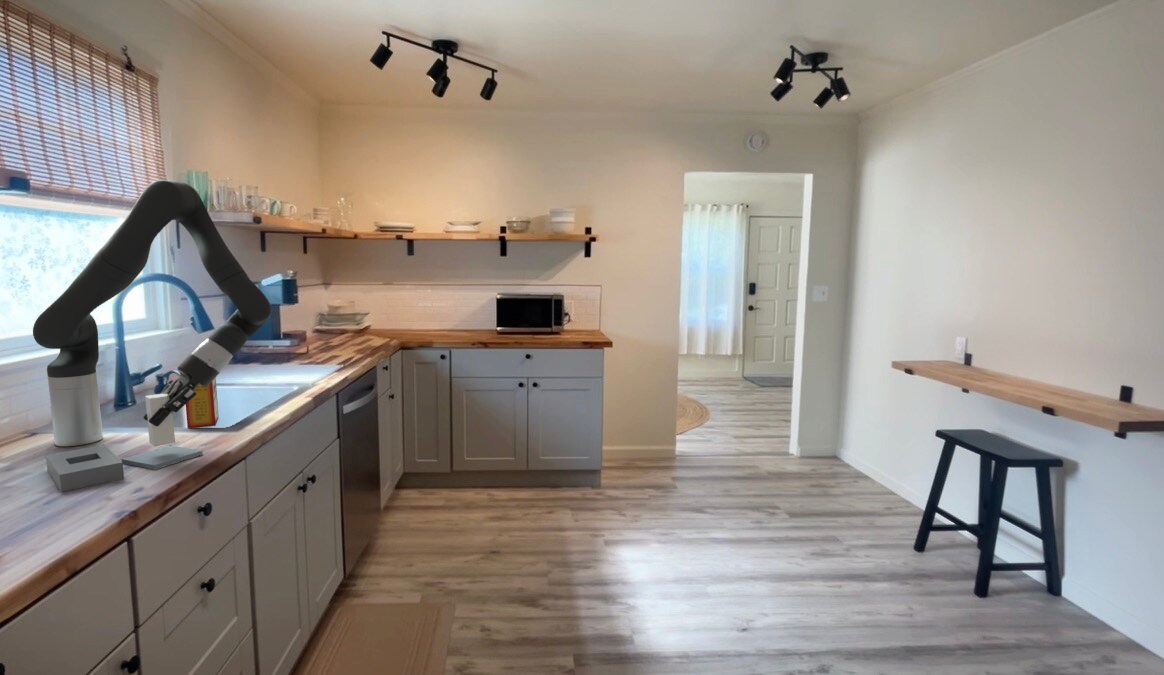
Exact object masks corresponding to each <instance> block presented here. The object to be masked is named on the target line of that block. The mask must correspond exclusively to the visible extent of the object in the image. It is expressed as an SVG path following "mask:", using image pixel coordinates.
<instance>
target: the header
mask: <svg viewBox="0 0 1164 675" xmlns="http://www.w3.org/2000/svg"><path fill="white" fill-rule="evenodd" d="M45 458H46V460H45V461H46V467H47V468H46V470H47V472H48V474H49V475H50V477H51V478H52V480H53V482H54V483H55V485H56V486H57V488H58V489H59V491H60V493H62V492H68V491H72V490H76V489H81V488H87V487H91V486H95V485H99V484H105V483H110V482H115V481H118V480H123V479H125V475H124V473H125V472H124V464H123V462H122V460H121V458H119V457H117V455H116V454H115V453H114V452H112V451H111V450H110V449H109V448H108V447H107V445H105V444H100V445H94V446H90V447H84V448H79V449H78V448H77V449H73V450H72V449H71V450H65V451H61V452H55V453H51V454H46V455H45Z"/></svg>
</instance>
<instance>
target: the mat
mask: <svg viewBox="0 0 1164 675" xmlns="http://www.w3.org/2000/svg"><path fill="white" fill-rule="evenodd" d="M199 455H200V456H203V449H202V450H200V449H196V448H190V447H189V448H188V447H182V446H177V445H170V444H169V445H167V446H163V447H160V448H157V449H152V450H148V451H146V452H142V453H138V454H137V453H136V454H134V455H130V456H127V457H124V458H120V460H121V461H122V462H123V465H129V466H134V467H139V468H144V469H149V470H153V469H155V470H158V469H160V467H161V468H164V467H167V466H166V465H168V466H170V464H171V465H173V464H177V463H180V461H181V462H184V461H186V460H189V459H193V457H194V458H196V456H197V457H200V456H199ZM183 460H184V461H183ZM163 466H164V467H163ZM157 468H158V469H157Z"/></svg>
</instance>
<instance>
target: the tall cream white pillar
mask: <svg viewBox="0 0 1164 675" xmlns="http://www.w3.org/2000/svg"><path fill="white" fill-rule="evenodd" d="M167 395H168V394H167V393H166V394H160V393H157V394H150V395H144V400H145V408H146V409H145V410H146V413H147V420H148V421H147V420H146V421H147V429H148V437H149V438H148V439H149V440H148V441H149V444H150V445H152V446H153V447H159V446H160V447H161V446H164V445H170V444H174V443H176V437H175V427H174V426H175V425H174V416H173V413H170V414H169V415H168V416H167V417H166V418H165V420H164V421H163V422H162V423H161V424H160V425H159V426H154V425H153V424H151V423H150V422H149V419H150V418H151V417H152V416H153V415H154V414H155V413H156V412H157V411H158V410H159V409H160V408H161V407H162V405H163V404H164V403H165V402H166V401H167Z"/></svg>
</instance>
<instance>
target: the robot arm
mask: <svg viewBox="0 0 1164 675" xmlns="http://www.w3.org/2000/svg"><path fill="white" fill-rule="evenodd" d="M172 221H177V222H178V223H180V225H182V226H183V227H184V228H185V230H186V231H187V232H188V233H189V235H190V236H191V237H192V239H193V241H194V243H195V245H196V248H197V250H198V254H199V257H200V260H201V262H202V265H203V267H204V269H205V270H206V272H207V273H208V275H209V276H210V278H211V279H212V281H213V282H214V283H215V284H216V285H217V287H218V289H219V290H220V291H221V292H222V293H223V294H224V295H227V296H228V298H229V300H230V301H231V302H232V303H233V305H234V306H235V308H236V310H235V311H234V312H233V313H232V314H231V315H230V316H229V318H227V320H226V321H225V322H224V323H221V324H220V325H219V326H218V327H216V328H215V330H214V331H212V332H211V334H210V335H209V336H208V337H207V338H206V339H205V340H203V341H202V342H201V343H200V344H198V346H196V348H195V349H194V350H193V351H191V353H190V354H189V355H188V356H187V357H186V358H185V359H184V360H183V361H182V362H181V363H180V364H179V366H177V370H178V371H179V372H180V373H182V374H181V376H179V377H178V378H176V379H174V380H173V379H170V380H169V381H168V382H167V384H166V385H165V386H164V387H163V389H162V390H161V391H160V393H159V394H166V393H167V394H168V395H167V401H166V402H165V403H164V404H163V405H162V407H161V408H160V409H159V410H158V411H157V412H156V413H155V414H154V415H153V416H152V417H151V418H150V419H149V422H150V423H151V424H153V425H154V426H159V425H160V424H161V423H162V422H163V421H164V420H165V418H166V417H167V416H168V415H169V414H170V413H172V414H173V413H177V412H179V411H180V410H181V409H182V408H183V407H185V406H186V403H188V402H189V401H190V400H191V399H192V398H193V397H194V396H196V394H197V393H196V392H194V389H195V388H196V387H197V385H198V384H199V385H201V386H203V387H207V386H208V385H209V384H210V383H211V382H212V381H213V380H214V379H215V377H216V378H217V377H218V376H219V374H220V373H221V372H222V371H223V370H224V369H225V368H226V367H227V366H228V365H229V363H230V362H231V360H232V358H233V357H235V355H236V354H238V352H239V351H240V350H241V348H243V347H244V345H245V344H246V342H247V341H248V339H250V338H251V337H252V336H253V335H254V334H255V333H256V332H257V331H258V330H260V328H261V327H262V326H263V325H265V323H267V321H268V320H269V318H270V316H271V315H272V314H271V313H272V306H271V302H270V301H269V300H268V298H267V297H266V295H265V294H264V292H262V290H261V289H260V288H259V287H258V286H257V285H256V284H255V283H254V282H253V281H252V280H251V278H250V277H249V276H248V274H247V273H246V271H245V270H244V268H243V266H241V264H240V263H239V261H238V260H237V259H236V257H235V256H234V254H233V253H232V252H231V250H230V249H229V247H228V246H227V244H226V243H225V241H224V239H223V238H222V236H221V234H220V232H219V230H218V229H217V227H216V225H215V223H214V221H213V220H212V218H211V216H210V214H209V212H208V210H207V207H206V206H205V203H204V201H203V200H202V198H201V196H200V194H199V193H198V192H197V190H196V189H195V188H194V187H193V186H191V185H189V184H188V183H185V182H183V181H182V182H181V181H174V180H169V179H158V180H155V181H153V182H151V183H149V184H148V185H147V186H146V187H145V189H144V190H143V191H142V192H141V194H140V195H139V197H138V199H137V201H136V202H135V203H134V205H133V206H132V208H131V210H130V212H129V213H128V215H127V216H126V217H125V219H124V221H122V222H121V224H120V225H118V227H117V228H116V230H114V232H113V233H112V235H111V236H110V237H109V238H108V240H106V242H105V243H104V244H103V245H102V246H101V247H100V248H99V250H98V251H97V252H96V253H95V255H94V256H93V257H92V258H91V260H89V262H88V263H87V265H86V266H85V268H84V269H83V270H82V271H81V272H80V273H79V274H78V275H77V277H76V278H75V279H74V280H73V281H72V282H71V284H70V285H69V286H68V287H67V288H66V290H64V292H63V293H62V294H61V295H60V296H58V298H57V299H55V301H54V302H52V303H51V304H50V305H49V306H48V307H47V308H46V309H45V310H44V311H42V312H41V314H39V316H38V317H37V318H36V320H35V322H34V324H33V327H32V335H33V339H34V340H35V342H36V343H37V344H38V346H41V347H43V348H45V349H49V350H59V354H58V355H57V357H56V358H54V360H53V361H51V362H50V363H49V364H48V365H47V366H46V373H47V374H46V375H47V382H48V392H49V400H50V415H51V422H52V423H51V424H52V431H53V442H54V443H55V446H57V447H73V446H83V445H87V444H92V443H96V442H98V441H100V440H102V439H103V438H104V436H103V427H102V415H101V406H100V396H99V386H98V377H97V365H98V362H99V359H100V354H99V353H100V352H99V351H100V350H99V349H100V347H99V329H98V325H97V322H96V320H95V318H94V316H93V315H92V314H91V313H92V312H93V311H94V310H96V309H97V308H99V307H100V306H102V305H103V304H105V303H106V302H108V301H110V300H111V299H112V298H114V297H116V296H117V295H119V294H121V292H123V291H125V290H126V289H127V288H128V287H129V286H130V285H132V283H133V282H134V281H135V280H136V279H137V277H138V276H139V275H140V273H142V271H143V270H144V268H145V267H146V266H147V262H148V260H149V257H150V256H149V255H150V251H151V247H152V245H153V242H154V240H155V239H156V237H157V236H158V235H159V233H161V232H162V230H163V229H164V228H165V227H166V226H168V225H169V223H171V222H172ZM143 420H145V421H147V422H148V420H147V412H146V413H145V414H144V415H143Z"/></svg>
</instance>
